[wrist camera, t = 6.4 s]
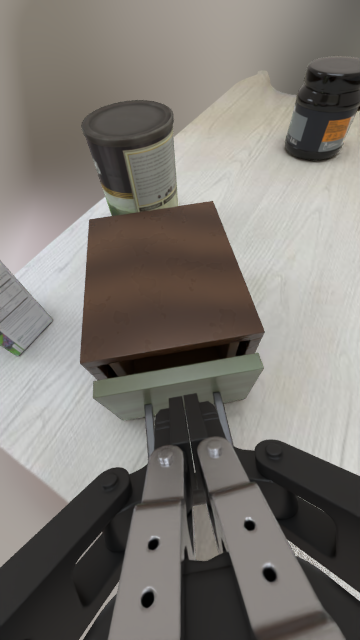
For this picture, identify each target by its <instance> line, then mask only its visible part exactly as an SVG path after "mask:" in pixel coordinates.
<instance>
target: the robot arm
mask: <svg viewBox="0 0 360 640" xmlns="http://www.w3.org/2000/svg"><path fill="white" fill-rule="evenodd" d="M183 397H184V404H185V410H186V416H187V421H186V416H185V410H184V404H183V398H182V396H177V397H172V398H169V408H166V409H160V410H159V412H158V413H157V415H156V420H155V439H154V451H153V452H152V454H151V455H150V457H149V460H148V464H147V465H146V466H145V467H143V468H142V469H140V470H138V471H136V472H134V473H132V474H129V473H128V471H127V470H125V469H123V468H119V467H116V468H111V469H108V470H106V471H104V472H103V473H101V474H100V475H99V476H98V477H97V478H96V479H95V480H93V481H92V482H91V483H90V484H89V485H88V486H87V487H86V488H85V489H84V490H83V491H82V492H81V493H80V494H78V495H77V496H76V497H75V498H74V499H73V500H72V501H71V502H70V503H69V504H68V505H67V506H66V507H65V508H64V509H62V510H61V512H59V513H58V514H57V515H56V516H55V517H54V518H53V519H52V520H51V521H50V522H49V523H47V524H46V525H45V526H44V527H43V528H42V529H41V530H40V531H39V532H38V533H37V534H36V535H35V536H34V537H33V538H32V539H30V540H29V541H28V542H27V543H26V544H25V545H24V546H23V547H22V548H21V549H20V550H19V551H18V552H17V553H15V554H14V556H12V557H11V558H10V559H9V560H8V561H7V562H6V563H5V564H4V565H3V566H2V567H0V640H79V639H80V637H81V636H82V634H83V633H84V631H85V630H86V628H87V627H88V625H89V624H90V622H91V621H92V620H93V618H94V617H95V615H96V613H97V612H98V611H99V609H100V608H101V606H102V605H103V603H104V602H105V600H106V599H107V597H108V596H109V595H110V593H111V592H112V590H113V589H114V587H115V586H116V584H117V583H118V582H119V586H118V591H117V594H116V595H115V596H114V597H113V598H112V599H111V600H110V602H108V604H107V605H106V606H105V608H104V609H103V610H102V611H101V613H100V614H99V616H98V617H97V619H96V620H95V622H94V624H93V625H92V627H91V628H90V630H89V631H88V633H87V634H86V636H85V637H84V639H83V640H360V601H359V600H357V599H356V598H355V597H354V596H352V595H351V594H350V593H349V592H347V591H346V590H345V589H344V588H342V587H341V586H340V585H339V584H337V583H336V582H335V581H334V580H332V579H331V578H330V577H329V576H327V575H326V574H325V573H324V572H322V571H321V570H320V569H318V568H317V567H315V566H314V565H312V564H311V563H309V562H307V561H305V560H303V559H301V558H299V557H297V556H295V554H294V552H293V550H292V548H291V547H290V545H289V543H288V541H287V539H288V540H289V541H290V542H292V543H293V544H294V545H296V546H297V547H298V548H300V549H301V550H302V551H304V552H305V553H307V554H308V555H309V556H311V557H312V558H313V559H315V560H316V561H317V562H319V563H320V564H321V565H323V566H324V567H326V568H327V569H328V570H330V571H331V572H332V573H334V574H335V575H336V576H338V577H339V578H340V579H342V580H343V581H344V582H346V583H347V584H349V585H350V586H351V587H353V588H354V589H355V590H357V591H358V592H359V593H360V476H358V475H356V474H354V473H351V472H349V471H347V470H345V469H342V468H340V467H338V466H336V465H333V464H331V463H329V462H327V461H324V460H322V459H320V458H318V457H315V456H313V455H311V454H309V453H306V452H304V451H302V450H300V449H297V448H295V447H293V446H291V445H288V444H286V443H284V442H281V441H278V440H264V441H262V442H260V443H258V444H257V446H256V447H255V451H251V450H242V449H238V448H236V447H234V446H232V445H231V443H230V442H229V441H228V440H227V439H226V436H225V433H224V431H223V428H222V425H221V423H220V420H219V417H218V414H217V412H216V409H215V406H214V405H213V404H212V403H210V402H209V401H205V402H199V400H198V396H197V393H194V394H188V395H183ZM187 423H188V427H187ZM188 429H189V434H188ZM189 436H190V440H189ZM190 442H191V447H190ZM191 448H192V453H191ZM192 454H193V459H194V465H195V471H196V477H197V483H198V489H199V490H200V489H203V490H204V495H205V501H206V507H207V511H208V515H209V519H210V523H211V527H212V531H213V534H214V538H215V542H216V546H217V550H218V553H219V555H218V556H216V557H214V558H212V559H210V560H208V561H196V552H195V531H194V511H193V494H192V491H195V490H197V486H196V480H195V473H194V467H193V460H192ZM298 496H299V497H298ZM301 498H302V499H301ZM303 499H304V500H303ZM305 500H306V501H307V502H306V501H305ZM308 502H309V503H308ZM310 503H311V504H310ZM313 505H314V506H313ZM315 506H316V507H315ZM317 507H318V508H319V509H318V508H317ZM320 509H321V510H320ZM322 510H323V511H324V512H323V511H322ZM101 532H103V533H102V534H101V536H100V537H99V538H98V539H97V540H96V541H95V543H94V544H93V545H92V546H91V547H90V548H89V550H88V551H87V552H86V553H85V555H84V556H83V557H82V558H81V559H80V560H79V562H78V563H77V564H76V562H77V561H78V559H79V558H80V556H81V555H82V554H83V553H84V552H85V550H86V549H87V548H88V547H89V546H90V545H91V543H92V542H93V541H94V540H95V539H96V537H98V535H99V534H100V533H101ZM75 564H76V565H75ZM119 580H120V581H119Z"/></svg>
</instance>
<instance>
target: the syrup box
mask: <svg viewBox="0 0 360 640" xmlns="http://www.w3.org/2000/svg"><path fill="white" fill-rule="evenodd" d="M52 321H53V319H52V318H51V317H50V316H49V315H48V314H47V312H46V311H45V310H44V309H43V308H42V307H41V306H40V304H39V303H38V302H37V301H36V300H35V299H34V298H33V297H32V295H31V294H30V293H29V292H28V291H27V290H26V289H25V288H24V287H23V285H22V284H21V283H20V282H19V281H18V280H17V279H16V278H15V277H14V275H13V274H12V273H11V272H10V271H9V270H8V269H7V268H6V266H5V265H4V264H3V263H2V262H1V261H0V346H2V347H3V348H5V349H7V350H8V351H10V352H11V353H13V354H14V355H16V356H19V355H20V354H21V353H22V352H23V351H24V350H25V349H26V348H27V347H28V346H29V345H30V344H31V343H32V342H33V341H34V340H35V339H36V338H37V337H38V336H39V335H40V333H41V332H42V331H43V330H44V329H45V328H46V327H47V326H48V325H49V324H50V323H51V322H52Z"/></svg>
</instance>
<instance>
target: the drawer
mask: <svg viewBox="0 0 360 640" xmlns="http://www.w3.org/2000/svg"><path fill="white" fill-rule="evenodd" d="M238 345H239V342H235V343H229V344H223V345H217V346H211V347H205V348H199V349H193V350H188V351H182V352H176V353H170V354H164V355H158V356H152V357H146V358H141V359H135V360H129V361H123V362H117V363H111V364H109V365H110V366H111V368H112V369H113V370H114V371H115V373H116V374H117V375H118V376H119V377H115V378H109V379H103V380H98V381H94V382H93V398H94V399H95V400H96V401H98V402H99V403H100V404H102V405H103V406H104V407H106V408H107V409H108V410H110V411H111V412H112V413H114V414H115V415H116V416H118V417H119V418H120V419H122V420H123V421H125V420H130V419H136V418H142V417H145V422H146V435H147V448H148V460H149V457H150V455H151V454H152V452H153V451H154V439H155V425H154V415H157V413H158V412H159V410H160V409H166V408H169V398H172V397H177V396H182V398H183V404H184V397H183V395H188V394H194V393H197V396H198V400H199V402H205V401H209V402H210V403H212V404H213V405H214V404H215V408H216V412H217V414H218V417H219V420H220V423H221V425H222V428H223V431H224V433H225V436H226V439H227V440H228V441H229V442H230V443H231V445H232V446H233V442H232V438H231V434H230V430H229V426H228V422H227V417H226V413H225V409H224V405H223V403H226V402H231V401H237V400H242V399H245V398H246V396H247V395H248V393H249V392H250V390H251V388H252V387H253V385H254V383H255V382H256V380H257V379H258V377H259V375H260V374H261V372H262V370H263V369H264V367H263V364H262V361H261V359H260V356H259V353H254V354H248V355H243V356H237V357H235V354H236V351H237V348H238ZM184 410H185V404H184ZM195 480H196V486H197V490H195V491H192V494H193V506H197V505H202V504H206V501H205V495H204V490H203V489H200V490H199V489H198V483H197V477H196V473H195Z"/></svg>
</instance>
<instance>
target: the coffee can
mask: <svg viewBox="0 0 360 640" xmlns="http://www.w3.org/2000/svg"><path fill="white" fill-rule="evenodd" d="M173 121H174V120H173V112H172V110H171V109H170V108H169V107H167V106H166V105H164V104H161V103H158V102H154V101H144V100H135V101H124V102H118V103H114V104H111V105H107V106H104V107H101V108H99V109H97V110H95V111H93V112H92V113H90V114H89V115H88V116H86V117H85V119H84V120H83V122H82V125H81V127H82V131H83V133H84V136H85V137H86V140H87V143H88V146H89V149H90V152H91V155H92V158H93V161H94V164H95V167H96V170H97V173H98V176H99V179H100V182H101V184H102V188H103V190H104V193H105V197H106V200H107V203H108V206H109V209H110V212H111V215H112V216H116V215H123V214H130V213H136V212H143V211H150V210H156V209H163V208H170V207H176V206H178V198H177V182H176V168H175V153H174V139H173Z"/></svg>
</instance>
